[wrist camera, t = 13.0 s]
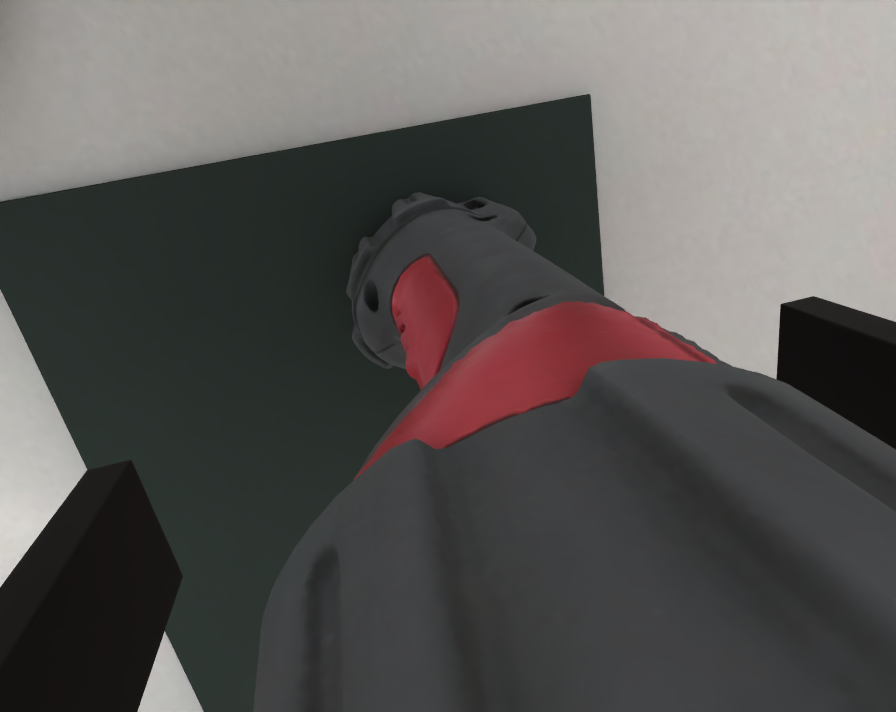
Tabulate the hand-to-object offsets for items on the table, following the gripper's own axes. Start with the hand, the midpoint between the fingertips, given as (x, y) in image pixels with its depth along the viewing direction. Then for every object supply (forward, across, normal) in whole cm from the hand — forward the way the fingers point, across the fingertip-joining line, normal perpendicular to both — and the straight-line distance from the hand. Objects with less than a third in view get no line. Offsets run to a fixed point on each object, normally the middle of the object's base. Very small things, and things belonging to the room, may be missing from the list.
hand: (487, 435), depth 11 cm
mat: (+14, -3, -14) cm, 20 cm away
